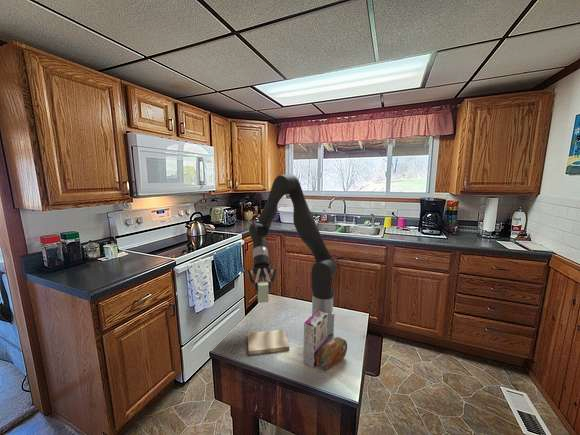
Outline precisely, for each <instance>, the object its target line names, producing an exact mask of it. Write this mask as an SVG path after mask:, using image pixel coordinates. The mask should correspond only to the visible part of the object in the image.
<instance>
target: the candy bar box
mask: <svg viewBox="0 0 580 435" xmlns="http://www.w3.org/2000/svg"><path fill="white" fill-rule="evenodd" d="M303 325H304V328H303V364H305V365H306V366H309V367H311V368H313V369H315V368H316V367H318V366H317V363H316V357H317V353H318V351H319V349H320V348H321V347H322V346H323V345H325V344H326V343H328V337H329V336H328V313H325V312H322V311H319V310H317V311H316V312H315V313H314V314H313V315H312V314H311V316H309V318H308V319H307V320H305V321H304V322H303Z"/></svg>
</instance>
